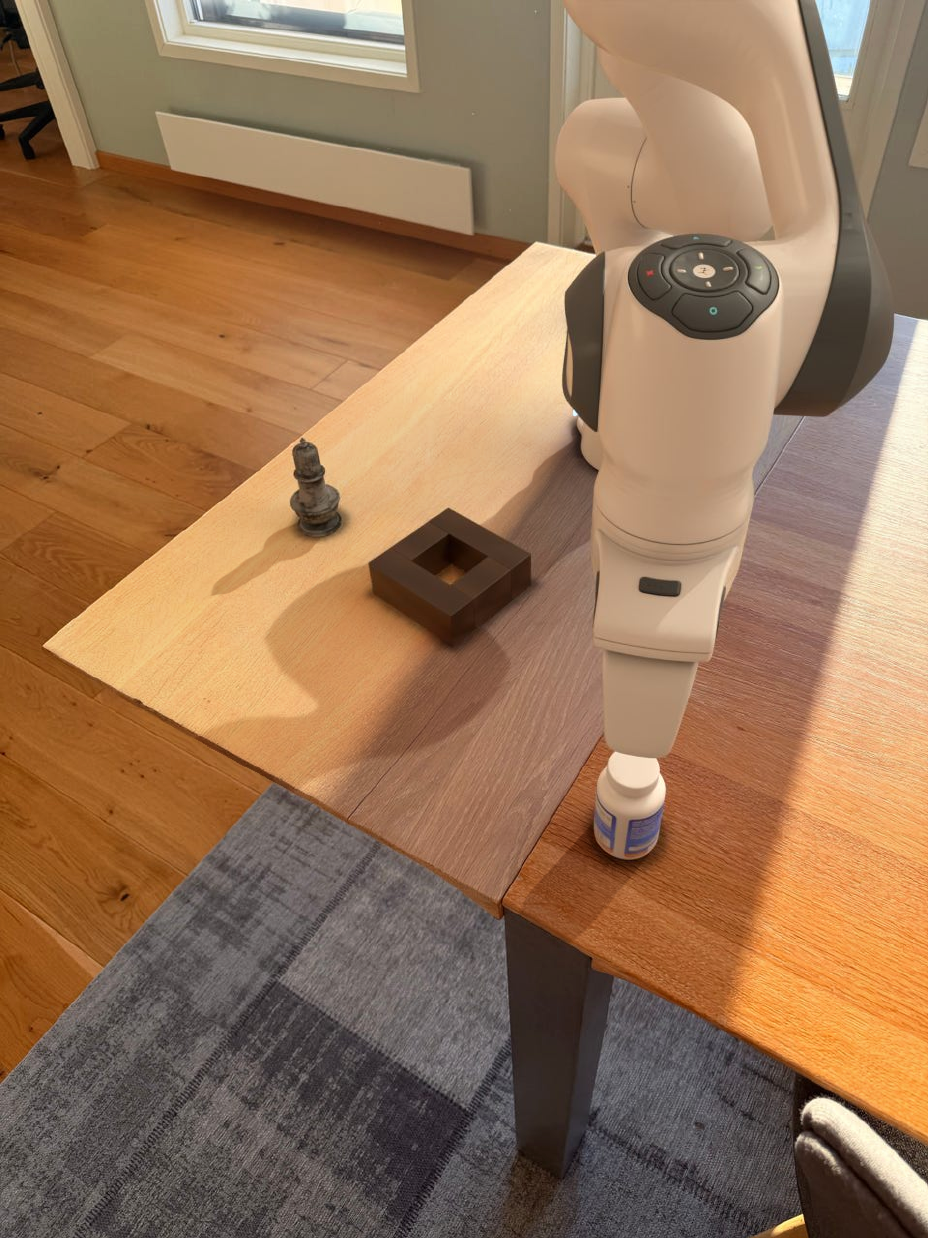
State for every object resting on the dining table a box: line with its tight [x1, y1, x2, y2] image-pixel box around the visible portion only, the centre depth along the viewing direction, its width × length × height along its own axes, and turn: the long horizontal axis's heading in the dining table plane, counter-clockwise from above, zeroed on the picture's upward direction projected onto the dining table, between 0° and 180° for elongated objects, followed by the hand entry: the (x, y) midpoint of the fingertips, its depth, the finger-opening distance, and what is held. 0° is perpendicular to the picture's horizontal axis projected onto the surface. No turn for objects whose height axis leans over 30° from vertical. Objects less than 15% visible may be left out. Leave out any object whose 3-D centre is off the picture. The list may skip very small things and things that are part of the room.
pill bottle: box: [593, 751, 667, 861], centre depth 73 cm, size 5×5×10 cm
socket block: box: [367, 507, 532, 648], centre depth 97 cm, size 12×12×4 cm
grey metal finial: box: [289, 437, 343, 538], centre depth 104 cm, size 6×6×12 cm
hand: (645, 686), depth 63 cm, fingers open, 8 cm apart
